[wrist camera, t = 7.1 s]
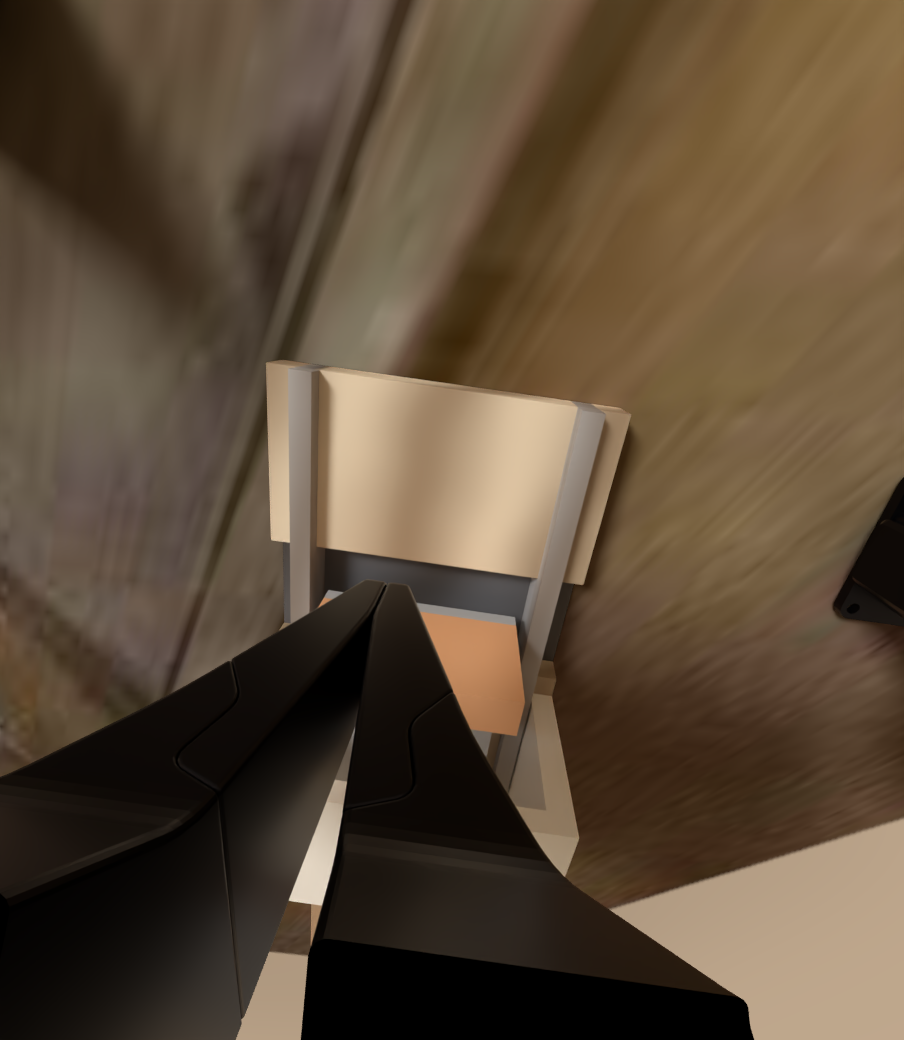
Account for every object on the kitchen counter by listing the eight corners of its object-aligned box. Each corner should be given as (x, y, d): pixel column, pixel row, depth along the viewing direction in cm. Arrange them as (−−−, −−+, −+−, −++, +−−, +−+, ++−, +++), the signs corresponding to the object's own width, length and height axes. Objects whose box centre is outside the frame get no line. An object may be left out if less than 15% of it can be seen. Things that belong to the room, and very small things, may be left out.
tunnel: (551, 695, 21) (579, 838, 15) (526, 784, 23) (542, 938, 17) (274, 655, 21) (194, 782, 15) (277, 748, 23) (208, 889, 18)
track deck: (619, 407, 17) (638, 418, 15) (500, 846, 28) (502, 889, 26) (283, 360, 17) (255, 363, 15) (289, 815, 28) (273, 855, 26)
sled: (514, 616, 19) (524, 702, 15) (459, 869, 26) (454, 980, 22) (328, 590, 19) (282, 667, 15) (321, 849, 26) (288, 955, 22)
